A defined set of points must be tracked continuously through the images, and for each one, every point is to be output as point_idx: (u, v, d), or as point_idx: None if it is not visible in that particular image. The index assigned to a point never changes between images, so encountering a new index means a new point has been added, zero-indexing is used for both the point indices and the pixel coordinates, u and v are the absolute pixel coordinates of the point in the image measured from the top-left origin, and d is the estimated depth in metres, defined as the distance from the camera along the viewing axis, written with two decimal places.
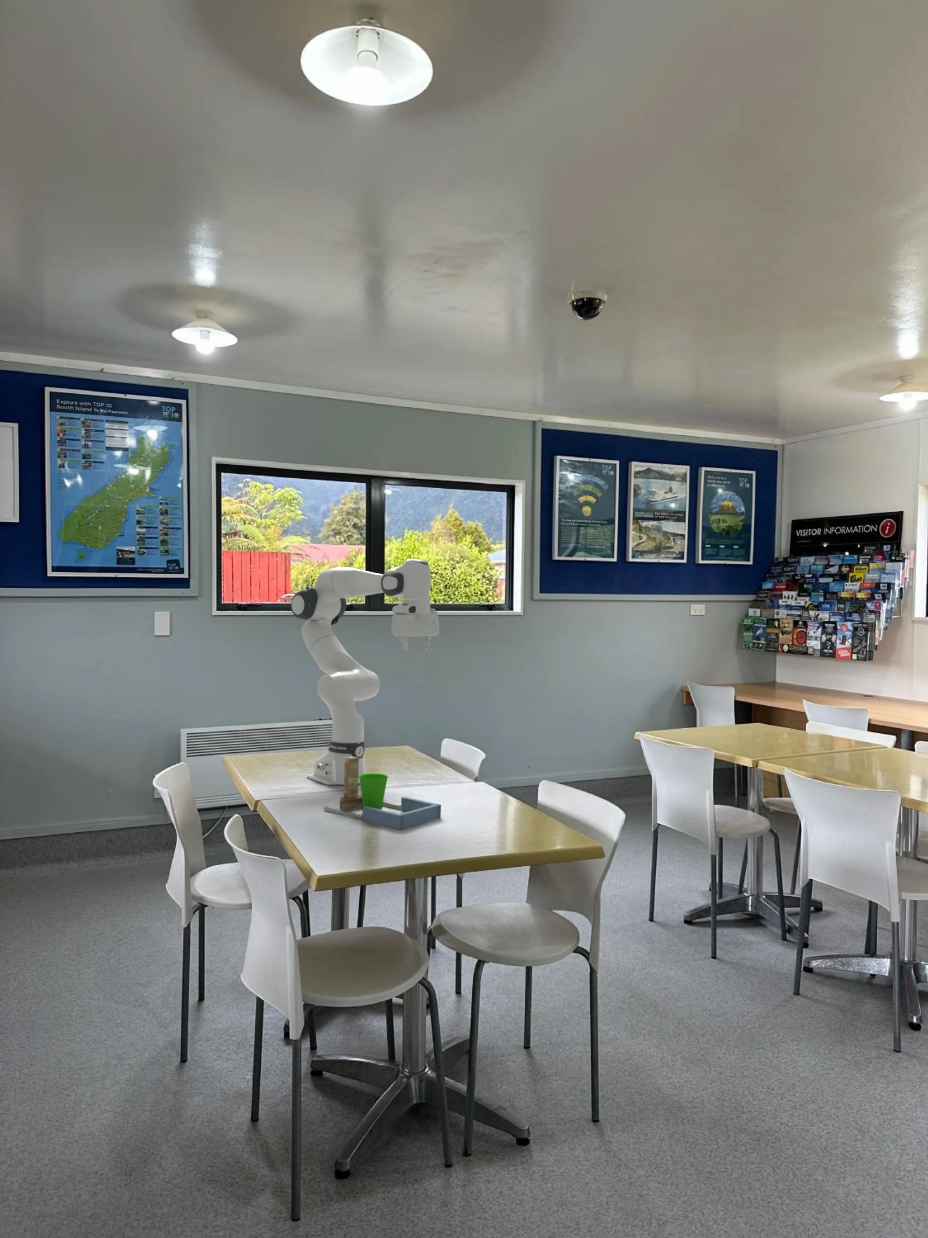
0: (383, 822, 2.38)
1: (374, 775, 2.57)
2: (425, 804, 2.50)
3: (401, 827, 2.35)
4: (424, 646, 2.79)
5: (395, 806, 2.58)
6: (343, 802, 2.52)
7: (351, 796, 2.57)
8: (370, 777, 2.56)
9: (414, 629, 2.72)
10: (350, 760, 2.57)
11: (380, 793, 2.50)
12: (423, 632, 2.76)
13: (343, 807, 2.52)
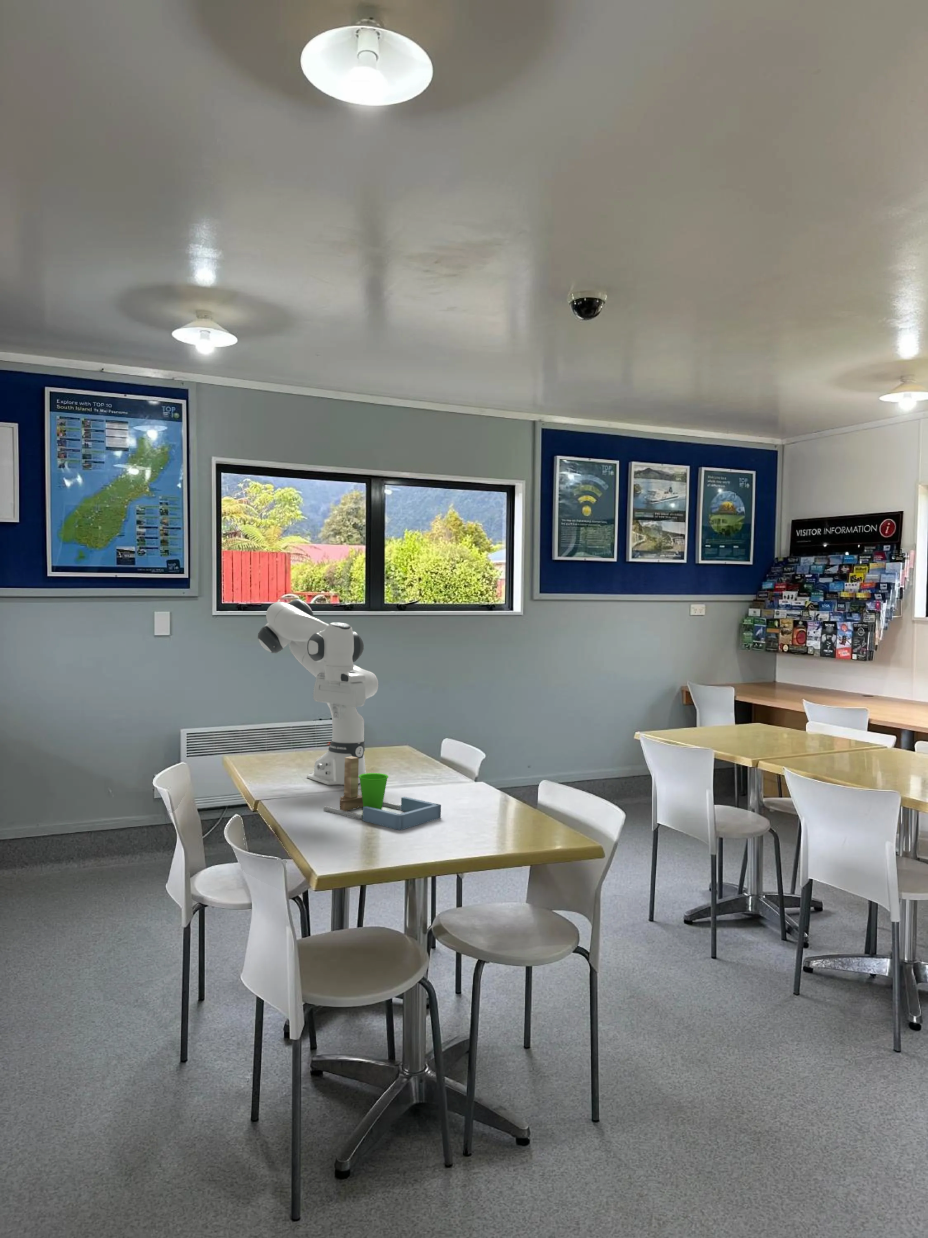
0: (383, 822, 2.38)
1: (374, 775, 2.57)
2: (425, 804, 2.50)
3: (401, 827, 2.35)
4: None
5: (395, 806, 2.58)
6: (343, 802, 2.52)
7: (351, 796, 2.57)
8: (370, 777, 2.56)
9: None
10: (350, 760, 2.57)
11: (380, 793, 2.50)
12: None
13: (343, 807, 2.52)
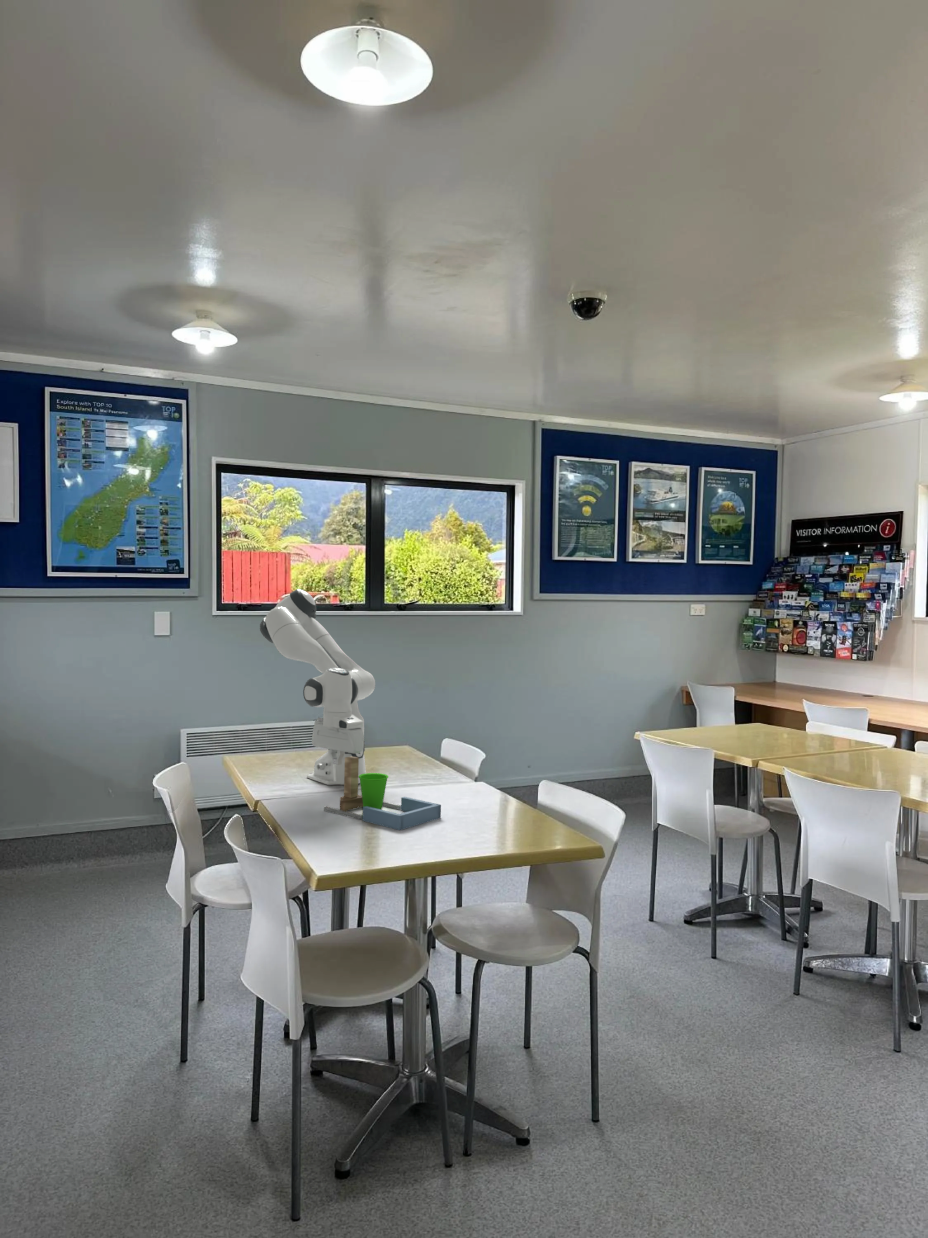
0: (383, 822, 2.38)
1: (374, 775, 2.57)
2: (425, 804, 2.50)
3: (401, 827, 2.35)
4: None
5: (395, 806, 2.58)
6: (343, 802, 2.52)
7: (351, 796, 2.57)
8: (370, 777, 2.56)
9: None
10: (350, 760, 2.57)
11: (380, 793, 2.50)
12: None
13: (343, 807, 2.52)
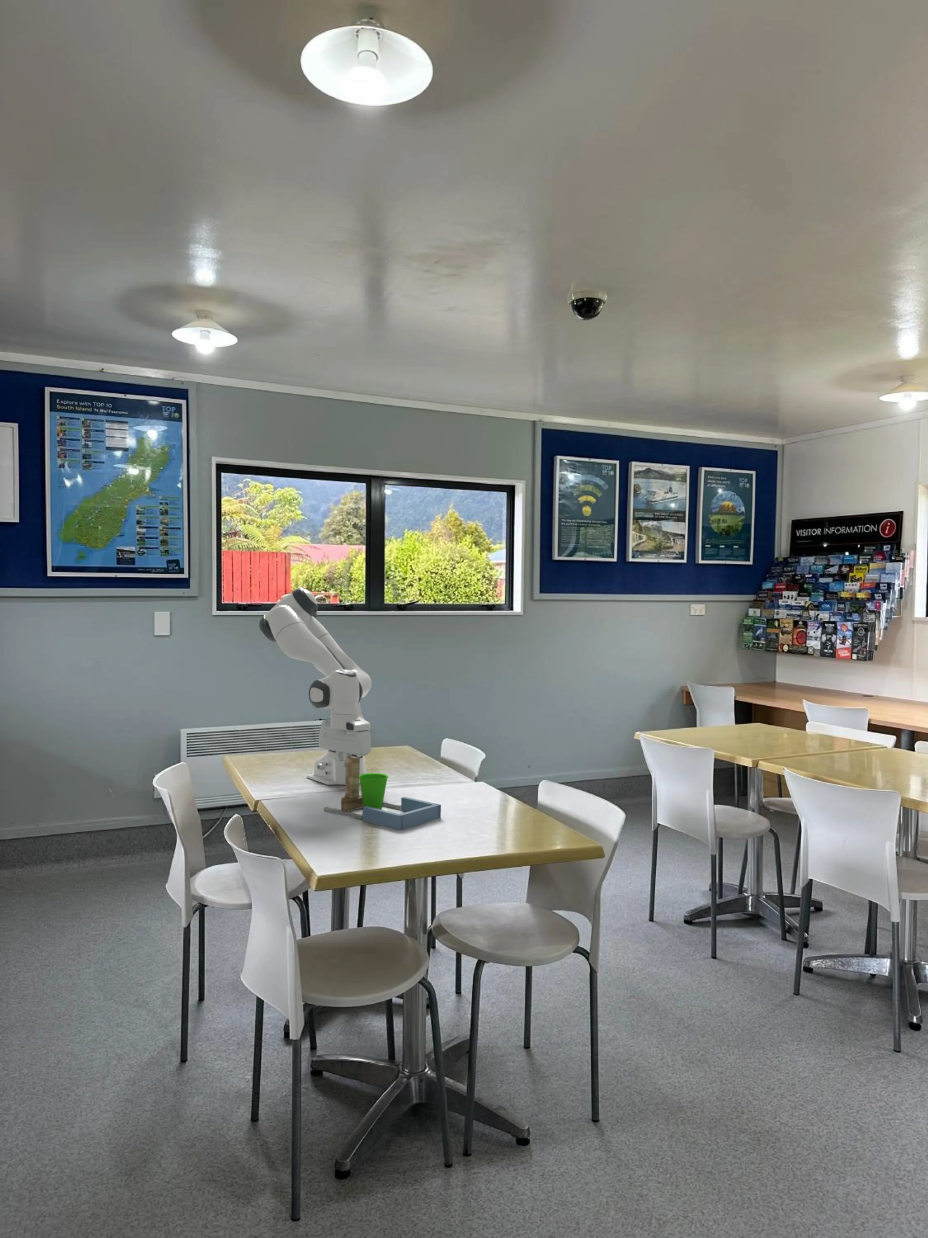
0: (383, 822, 2.38)
1: (374, 775, 2.57)
2: (425, 804, 2.50)
3: (401, 827, 2.35)
4: None
5: (395, 806, 2.58)
6: (344, 802, 2.52)
7: (352, 796, 2.57)
8: (370, 777, 2.56)
9: None
10: (351, 760, 2.56)
11: (380, 793, 2.50)
12: None
13: (344, 807, 2.52)
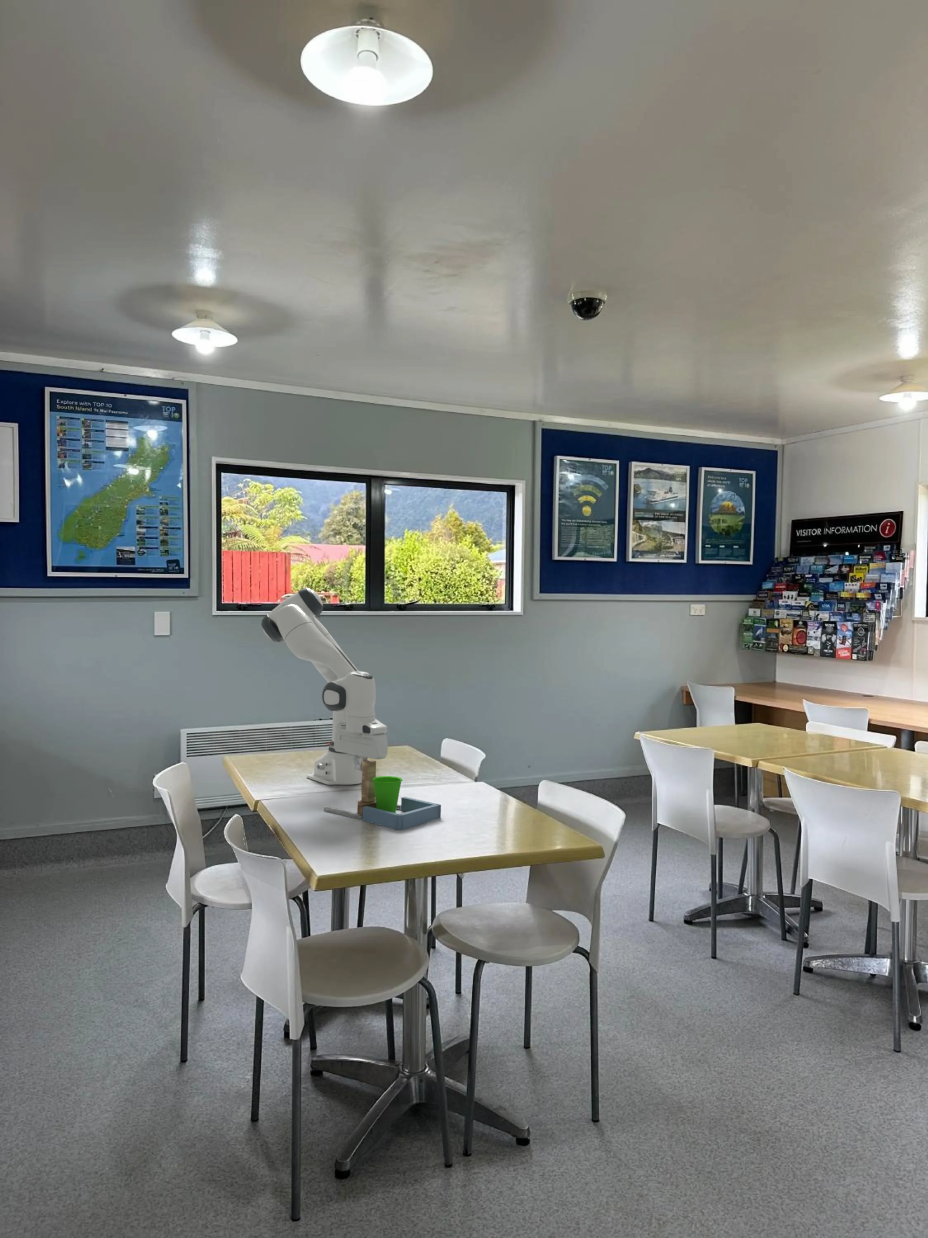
0: (383, 822, 2.38)
1: (389, 778, 2.53)
2: (425, 804, 2.50)
3: (401, 827, 2.35)
4: None
5: None
6: (361, 806, 2.48)
7: (368, 800, 2.52)
8: (384, 780, 2.52)
9: None
10: (367, 763, 2.52)
11: (393, 796, 2.46)
12: None
13: (361, 811, 2.48)
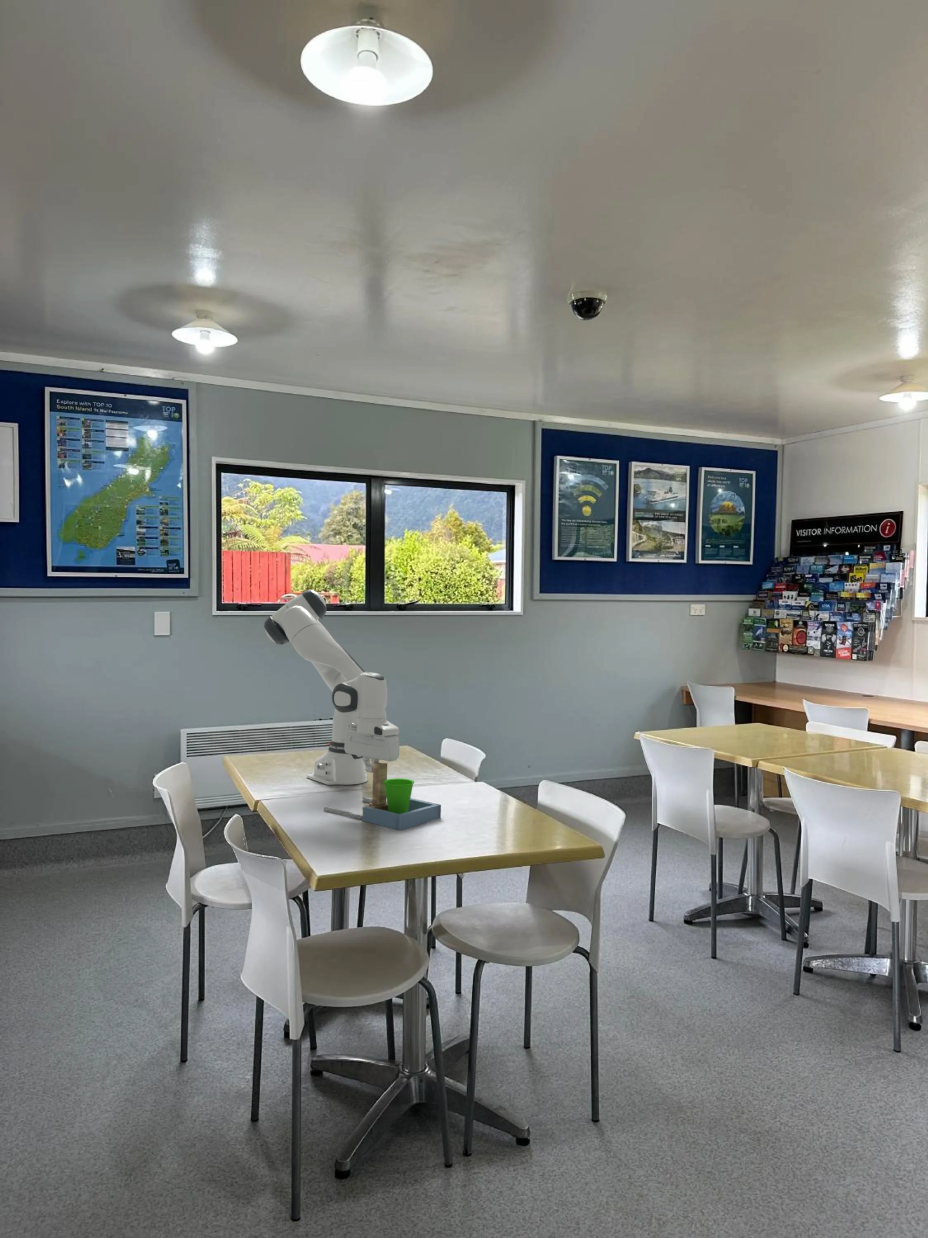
0: (383, 822, 2.38)
1: (400, 781, 2.50)
2: (425, 804, 2.50)
3: (401, 827, 2.35)
4: None
5: None
6: None
7: (380, 803, 2.49)
8: (396, 782, 2.50)
9: None
10: (379, 766, 2.49)
11: (405, 799, 2.43)
12: None
13: None
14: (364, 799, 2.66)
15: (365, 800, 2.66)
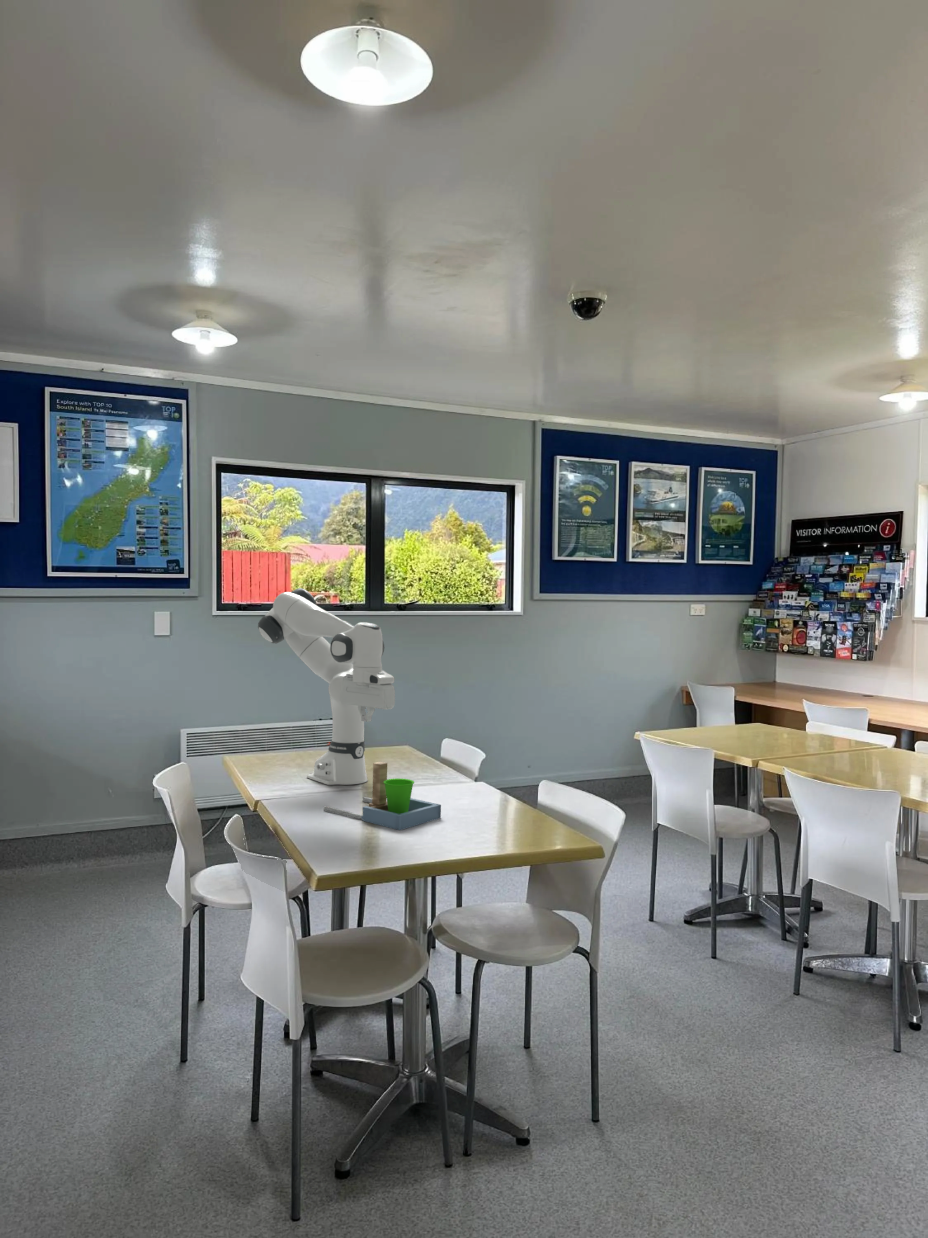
0: (383, 822, 2.38)
1: (400, 781, 2.50)
2: (425, 804, 2.50)
3: (401, 827, 2.35)
4: None
5: None
6: None
7: (380, 803, 2.49)
8: (396, 782, 2.50)
9: None
10: (379, 766, 2.49)
11: (405, 799, 2.43)
12: None
13: None
14: (364, 799, 2.66)
15: (365, 800, 2.66)
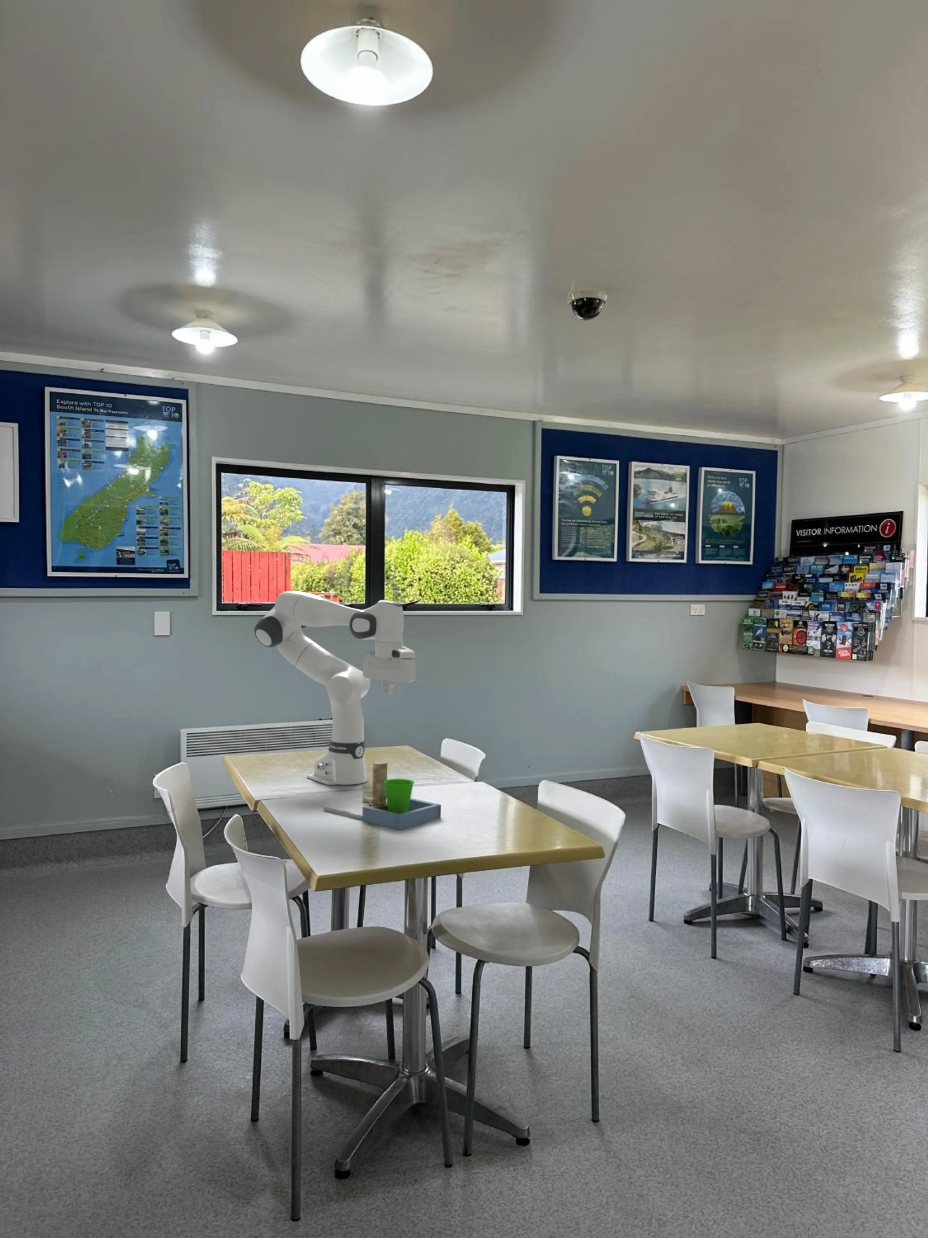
0: (383, 822, 2.38)
1: (400, 781, 2.50)
2: (425, 804, 2.50)
3: (401, 827, 2.35)
4: None
5: None
6: None
7: (380, 803, 2.49)
8: (396, 782, 2.50)
9: None
10: (379, 766, 2.49)
11: (405, 799, 2.43)
12: None
13: None
14: (364, 799, 2.66)
15: (365, 800, 2.66)
